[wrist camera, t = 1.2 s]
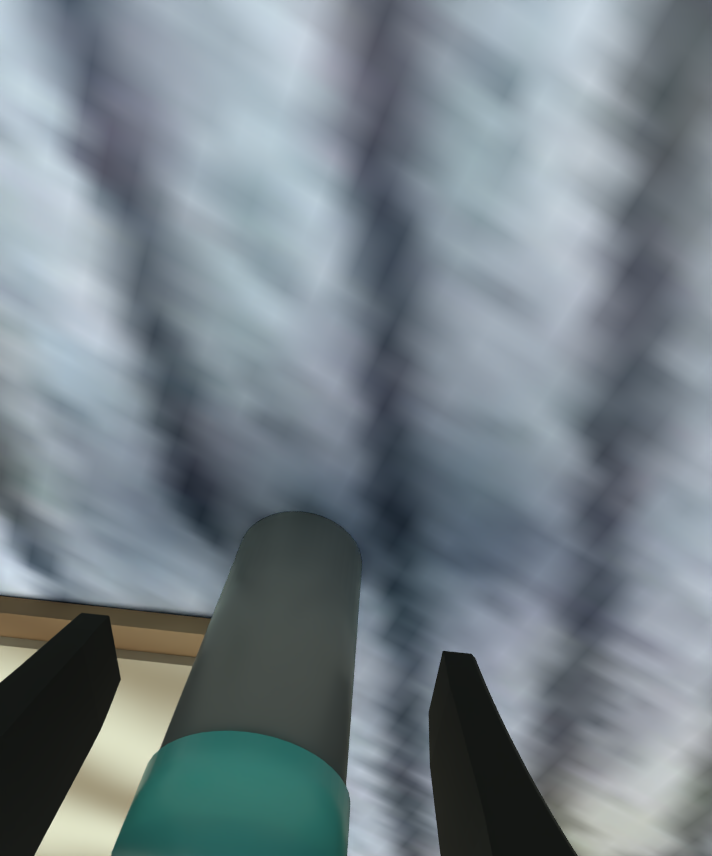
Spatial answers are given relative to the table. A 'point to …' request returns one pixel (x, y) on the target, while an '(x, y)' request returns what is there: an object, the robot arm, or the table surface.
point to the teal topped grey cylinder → (262, 708)
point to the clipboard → (127, 717)
